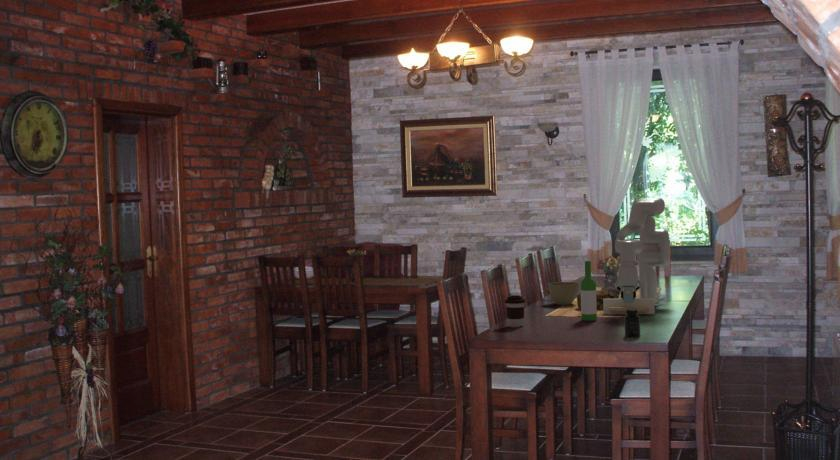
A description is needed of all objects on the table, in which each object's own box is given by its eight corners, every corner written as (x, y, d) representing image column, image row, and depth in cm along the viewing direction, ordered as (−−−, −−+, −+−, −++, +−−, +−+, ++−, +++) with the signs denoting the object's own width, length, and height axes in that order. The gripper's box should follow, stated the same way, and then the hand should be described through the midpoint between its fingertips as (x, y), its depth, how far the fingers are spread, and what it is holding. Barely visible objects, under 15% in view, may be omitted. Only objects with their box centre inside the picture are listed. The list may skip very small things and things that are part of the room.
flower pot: (584, 302, 489) (583, 282, 489) (572, 307, 474) (571, 285, 474) (555, 301, 499) (555, 281, 499) (543, 305, 484) (542, 284, 483)
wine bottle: (580, 321, 423) (578, 261, 421) (582, 319, 430) (581, 260, 429) (595, 321, 420) (594, 261, 419) (598, 319, 427) (596, 260, 426)
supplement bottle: (622, 335, 380) (621, 308, 379) (637, 334, 380) (636, 308, 380) (627, 337, 373) (627, 310, 373) (642, 336, 374) (642, 310, 373)
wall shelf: (603, 312, 449) (603, 297, 449) (654, 312, 443) (653, 297, 443) (603, 315, 439) (602, 300, 439) (654, 315, 433) (654, 300, 432)
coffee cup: (502, 326, 416) (501, 295, 416) (519, 324, 420) (518, 294, 420) (511, 328, 407) (511, 297, 407) (529, 326, 411) (528, 296, 411)
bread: (608, 306, 473) (607, 288, 472) (615, 309, 462) (615, 290, 462) (576, 308, 470) (576, 290, 470) (583, 310, 459) (582, 292, 459)
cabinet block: (623, 301, 441) (623, 285, 440) (633, 301, 439) (633, 285, 439) (623, 302, 434) (623, 287, 433) (633, 302, 432) (633, 287, 432)
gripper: (644, 263, 438) (645, 298, 439) (611, 264, 442) (611, 298, 443) (644, 265, 431) (645, 300, 431) (610, 265, 435) (611, 300, 436)
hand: (628, 299), depth 437 cm, fingers closed on cabinet block, 5 cm apart
